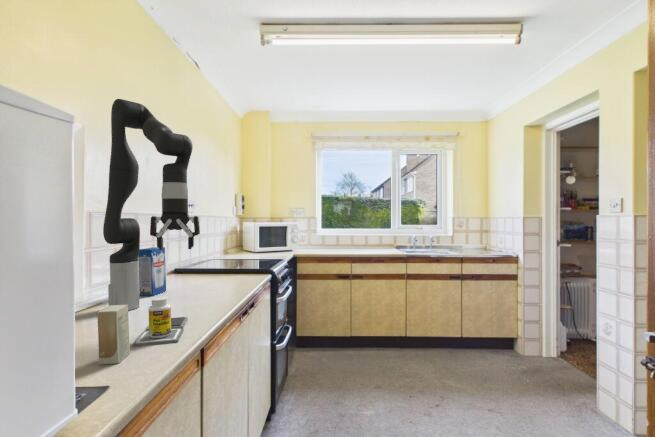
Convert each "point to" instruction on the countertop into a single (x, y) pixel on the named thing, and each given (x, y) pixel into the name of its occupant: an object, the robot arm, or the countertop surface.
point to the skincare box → (113, 334)
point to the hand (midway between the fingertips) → (175, 249)
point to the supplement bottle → (159, 318)
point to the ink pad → (176, 323)
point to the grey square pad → (147, 340)
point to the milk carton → (152, 271)
